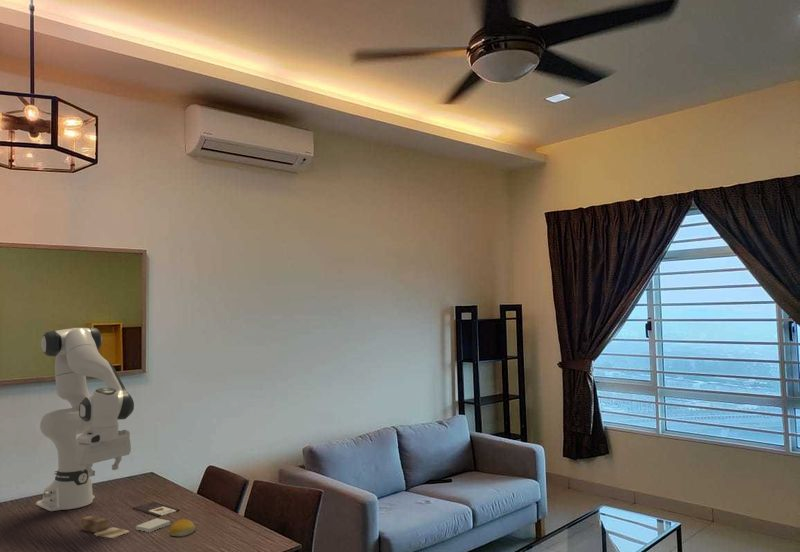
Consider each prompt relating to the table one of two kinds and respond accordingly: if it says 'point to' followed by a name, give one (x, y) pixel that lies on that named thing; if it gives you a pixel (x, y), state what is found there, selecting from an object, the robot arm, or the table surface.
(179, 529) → the bread roll
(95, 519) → the brown flat knobbed piece
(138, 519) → the table surface
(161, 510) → the chocolate bar
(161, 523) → the tile
